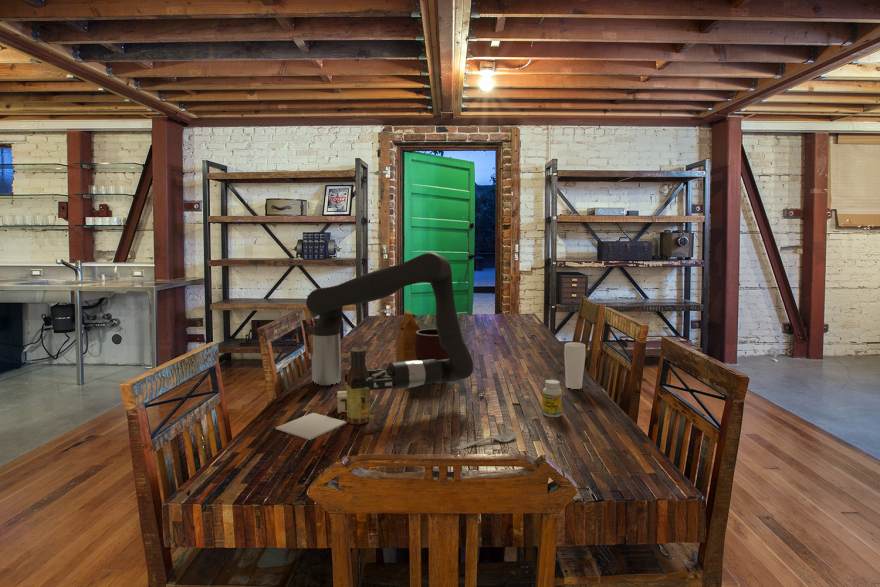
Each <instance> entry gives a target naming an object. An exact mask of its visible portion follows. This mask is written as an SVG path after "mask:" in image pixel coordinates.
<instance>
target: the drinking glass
mask: <svg viewBox="0 0 880 587" xmlns="http://www.w3.org/2000/svg"><path fill="white" fill-rule="evenodd" d="M563 351H564V370H565V372H564V373H565V387H566V389H568V388H571V389H570V390H572V389H579V390H581V389H582V388H583V379H584V369H585V362H586V344H585V343H582V342H577V341H575V342H572V341H571V342H566V343H565V344H564V350H563ZM580 388H581V389H580Z"/></svg>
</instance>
